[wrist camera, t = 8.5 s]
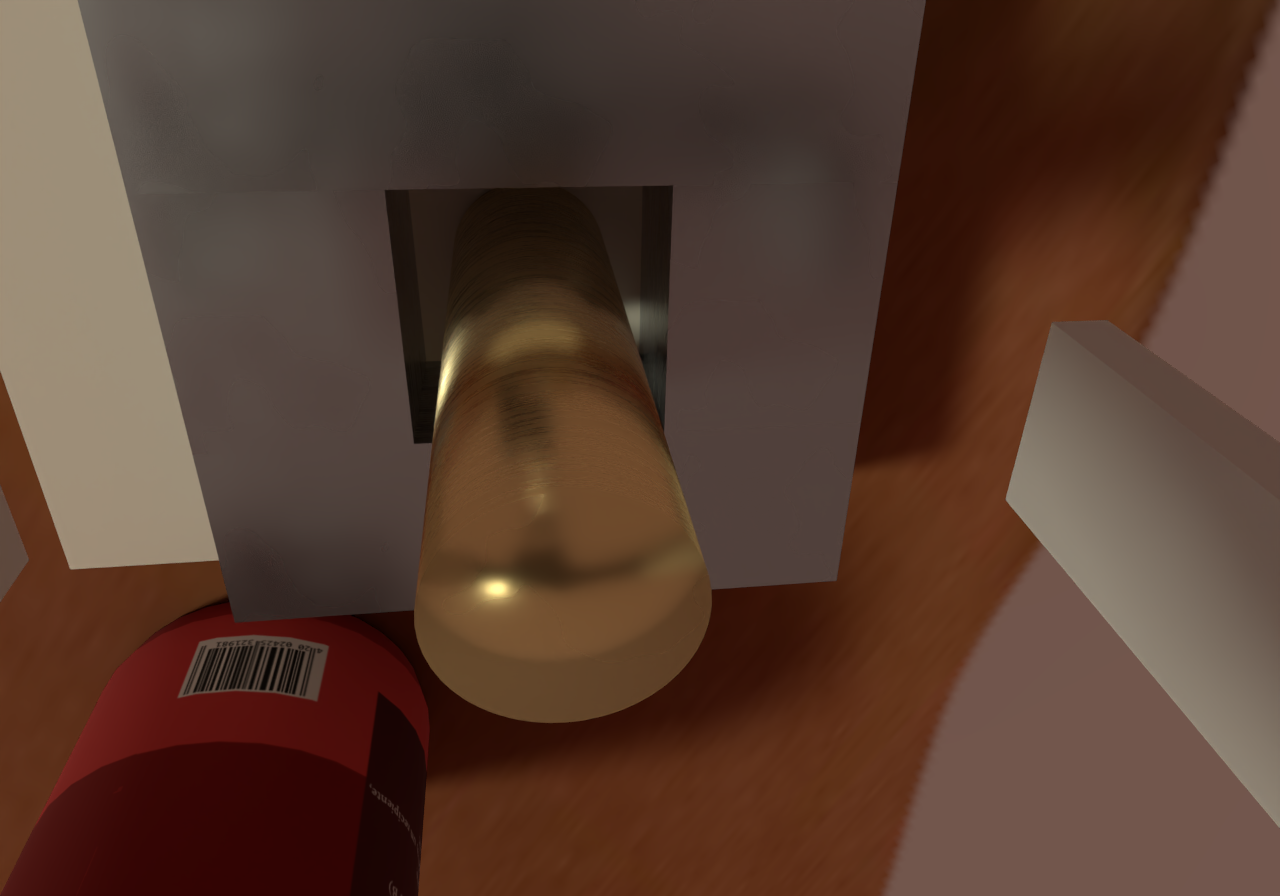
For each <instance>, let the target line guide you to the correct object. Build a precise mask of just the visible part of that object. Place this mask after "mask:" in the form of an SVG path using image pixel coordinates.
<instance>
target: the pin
mask: <svg viewBox="0 0 1280 896" xmlns="http://www.w3.org/2000/svg"><path fill="white" fill-rule="evenodd" d="M711 608H712V590H711V584H710V578H709V575H708V571H707V568H706V565H705V562H704V559H703V555H702V552H701V549H700V546H699V543H698V540H697V536H696V533H695V530H694V527H693V524H692V521H691V517H690V514H689V511H688V508H687V505H686V501H685V498H684V495H683V492H682V489H681V486H680V482H679V479H678V476H677V473H676V470H675V466H674V463H673V460H672V457H671V454H670V451H669V447H668V444H667V441H666V438H665V435H664V431H663V428H662V425H661V422H660V419H659V416H658V412H657V409H656V406H655V403H654V400H653V396H652V393H651V390H650V387H649V384H648V381H647V377H646V374H645V371H644V368H643V365H642V361H641V358H640V355H639V352H638V349H637V346H636V342H635V339H634V336H633V333H632V330H631V326H630V323H629V320H628V317H627V314H626V311H625V307H624V304H623V301H622V298H621V295H620V291H619V288H618V285H617V282H616V279H615V276H614V272H613V269H612V266H611V263H610V260H609V256H608V253H607V250H606V247H605V244H604V241H603V237H602V234H601V231H600V228H599V226H598V224H597V222H596V220H595V218H594V216H593V215H592V213H591V212H590V210H589V209H588V208H587V207H586V206H585V205H584V203H583V202H582V201H580V200H579V199H578V198H577V197H576V196H575V195H573V194H571V193H570V192H568V191H567V190H565V189H563V188H561V187H540V188H493V189H491V190H489V191H488V192H486V193H485V194H483V195H482V196H480V197H479V198H478V199H477V200H476V201H475V202H474V203H473V204H472V205H471V206H470V207H469V209H468V210H467V211H466V213H465V214H464V216H463V217H462V219H461V221H460V224H459V226H458V228H457V232H456V235H455V240H454V248H453V257H452V266H451V276H450V285H449V294H448V303H447V312H446V322H445V331H444V340H443V349H442V358H441V368H440V377H439V386H438V395H437V404H436V414H435V423H434V432H433V441H432V450H431V460H430V469H429V478H428V487H427V497H426V506H425V515H424V524H423V533H422V543H421V552H420V561H419V570H418V579H417V589H416V598H415V607H414V624H415V631H416V635H417V640H418V643H419V646H420V648H421V651H422V653H423V656H424V657H425V659H426V661H427V662H428V664H429V666H430V667H431V669H432V670H433V671H434V673H435V674H436V675H437V676H438V677H439V679H440V680H441V681H442V682H443V683H444V684H445V685H447V686H448V687H449V688H450V689H451V690H452V691H453V692H455V693H456V694H458V695H459V696H460V697H462V698H463V699H465V700H466V701H468V702H470V703H472V704H474V705H476V706H478V707H480V708H482V709H484V710H487V711H489V712H492V713H494V714H497V715H501V716H504V717H508V718H512V719H517V720H523V721H529V722H542V723H565V722H575V721H583V720H588V719H593V718H597V717H602V716H605V715H608V714H611V713H615V712H618V711H621V710H623V709H625V708H627V707H630V706H632V705H634V704H637V703H638V702H640V701H642V700H644V699H646V698H647V697H649V696H651V695H652V694H654V693H655V692H657V691H658V690H660V689H661V688H662V687H664V686H665V685H666V684H668V683H669V682H670V681H671V680H672V679H673V678H674V677H676V676H677V675H678V674H679V673H680V671H681V670H682V669H683V668H684V667H685V666H686V665H687V664H688V663H689V661H690V660H691V658H692V657H693V655H694V654H695V652H696V651H697V650H698V648H699V646H700V644H701V642H702V640H703V638H704V636H705V633H706V630H707V627H708V624H709V620H710V614H711Z"/></svg>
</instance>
